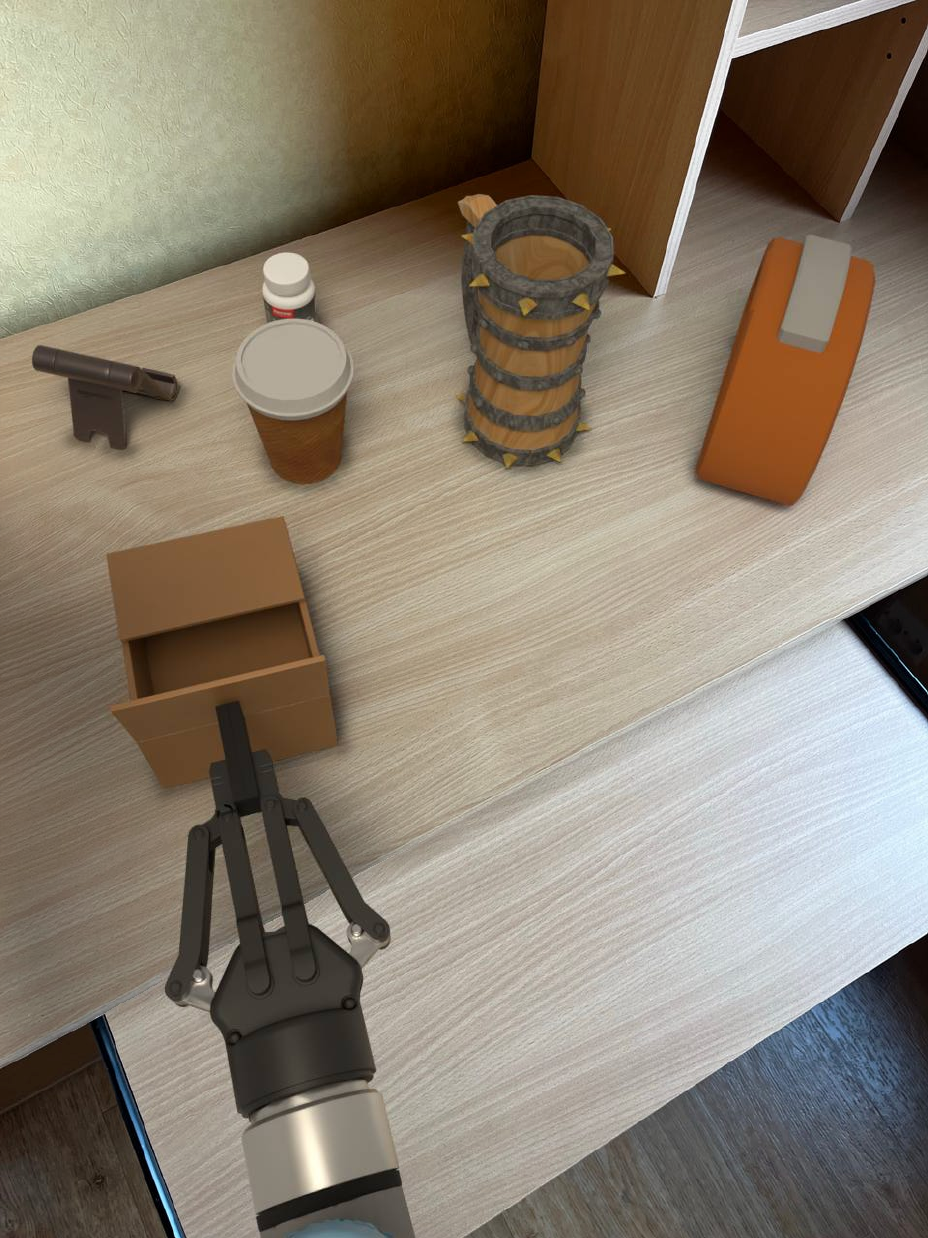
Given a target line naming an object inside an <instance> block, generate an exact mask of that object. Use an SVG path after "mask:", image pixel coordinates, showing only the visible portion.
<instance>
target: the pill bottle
mask: <svg viewBox="0 0 928 1238" xmlns="http://www.w3.org/2000/svg"><path fill="white" fill-rule="evenodd" d="M262 272H263V280H264V281H263V284H262V287H261V288H262V289H261V292H262V293H261V294H262V299H263V307H264V312H265V320H266V324H267V323H270V322H273V321H277V320H282V319H305V320H310V321H314V322H317V323H319V314H318V304H317V293H316V287H315V283H314V280H313V279H312V277H311V271H310V266H309V263H308V261H307V260H306V259H305V258H304V257H303V256H302V255H300V254H299V253H298V254H297V253H294V252H290V251H289V252H286V251H285V252H279V253H276V254H273V255H272V256H270V257H269V258H268V259H267V260H266V261H265V262H264V264H263V267H262Z"/></svg>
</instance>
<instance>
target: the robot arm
mask: <svg viewBox="0 0 928 1238" xmlns="http://www.w3.org/2000/svg"><path fill="white" fill-rule="evenodd" d="M215 708H216V713H217V718H218V724H219V729H220V734H221V739H222V744H223V749H224V754H225V760H221V761H218V762H214V763H211V765H210V769H209V774H210V778H209V779H210V785H211V788H212V789H211V790H212V794H213V800H214V806H215V810H214V813H213V816H212V817H211V818H210V819H209V820H207V821H205V822H204V823H202V824H195V825H194V826H192V827H191V828H190V829H189V831H188V835H187V847H186V856H185V857H186V858H185V870H184V883H183V897H182V907H181V908H182V909H181V918H180V919H181V920H180V930H179V931H180V933H179V945H178V955H177V957H176V959H175V962H174V964H173V966H172V969H171V971H170V973H169V976H168V977H167V980H166V982H165V984H164V994H165V996H166V997H167V998H168V999H169V1000H171V1002H173V1003H174V1005H176V1006H177V1007H179V1008H186V1007H189V1006H190V1007H193V1008H196V1009H199V1010H201V1011H204V1012H207V1013H209V1015H210V1016H209V1017H210V1019H211V1021H212V1023H213V1024H214V1025H215V1027H216V1028H217V1030H219V1032H220V1033H221V1035H222V1038H223V1040H224V1044H225V1048H226V1050H225V1051H226V1056H227V1061H228V1068H229V1073H230V1078H231V1084H232V1085H231V1086H232V1090H233V1097H234V1101H235V1108H236V1113H238V1114H239V1115H241V1117H242V1118H243V1119H247V1120H248V1122H249V1123H250V1125H248V1126H246V1127H247V1128H245V1129H244V1131H243V1133H242V1134H241V1144H242V1150H243V1154H244V1159H245V1160H244V1161H245V1165H246V1170H247V1176H248V1182H249V1186H250V1193H251V1197H252V1203H253V1209H254V1214H255V1220H256V1224H257V1229H258V1232H259V1237H260V1238H416V1235H415V1231H414V1227H413V1223H412V1219H411V1216H410V1211H409V1208H408V1203H407V1200H406V1196H405V1192H404V1188H403V1180H402V1176H401V1172H400V1170H399V1169H400V1164H399V1159H398V1156H397V1151H396V1147H395V1143H394V1138H393V1135H392V1134H393V1133H392V1129H391V1126H390V1121H389V1117H388V1113H387V1109H386V1104H385V1100H384V1096H383V1093H382V1092H381V1091H379V1090H377V1089H376V1088H370V1087H369V1083H370V1082H372V1081H373V1079H374V1078H375V1073H376V1072H377V1066H376V1062H375V1058H374V1055H373V1051H372V1046H371V1042H370V1037H369V1032H368V1028H367V1025H366V1020H365V1015H364V1012H363V1008H362V1003H361V992H362V988H363V986H364V985H363V984H364V974H363V969H364V967H365V966H366V965H367V964H368V963H369V962H370V960H371V959H372V958H373V957H374V956H375V955H376V953H377V952H378V951H382V950H385V949H387V948H388V947H389V946H390V944H391V940H392V936H391V928H390V924H389V923H388V921H387V920H386V919H385V918H384V917H383V916H381V915H380V914H379V913H378V912H377V911H376V910H374V909H373V908H372V907H371V906H370V905H369V904H368V903H367V902H365V900H364V898H363V896H362V894H361V892H360V890H359V889H358V886H357V885H356V882H355V881H354V879H353V878H352V875H351V873H350V871H349V870H348V868H347V866H346V864H345V862H344V860H343V858H342V856H341V855H340V853H339V851H338V849H337V847H336V846H335V843H334V842H333V840H332V837H331V836H330V833H329V832H328V831H327V829H326V826H325V825H324V822H323V821H322V819H321V817H320V815H319V813H318V812H317V810H316V809H317V808H315V806H314V804H313V802H312V801H311V800H310V798H308V797H306V796H305V797H303V796H301V797H298V798H296V799H293V798H286V797H284V796H283V795H282V794H281V793H280V789H279V783H278V779H277V775H276V771H275V767H274V766H275V765H274V761H273V762H272V759H271V755H270V754H269V753H268V751H267V750H266V749H264V750H260V751H256V752H252V750H251V745H250V740H249V736H248V731H247V726H246V722H245V718H244V715H243V712H242V709H241V706H240V703H239V701H236V702H232V703H227V704H223V705H219V706H215ZM259 813H261V816H262V820H263V826H264V831H265V835H266V840H267V846H268V850H269V854H270V860H271V864H272V869H273V874H274V878H275V882H276V889H277V893H278V898H279V902H280V909H281V916H282V920H283V926H281V927H280V928H278V929H276V930H275V931H265V927H264V923H263V918H262V912H261V908H260V903H259V899H258V893H257V888H256V883H255V878H254V874H253V869H252V868H253V867H252V864H251V859H250V854H249V853H250V852H249V849H248V844H247V839H246V834H245V829H244V826H243V822H242V818H244V817H248V816H252V815H255V814H259ZM288 827H297V828H298V829H299V831H300V833H301V835H302V837H303V839H304V841H305V843H306V844H307V847H308V849H309V850H310V852H311V854H312V856H313V858H314V860H315V862H316V864H317V866H318V868H319V869H320V872H321V874H322V875H323V878H324V879H325V881H326V883H327V885H328V887H329V889H330V891H331V893H332V895H333V897H334V898H335V900H336V902H337V904H338V906H339V908H340V910H341V912H342V914H343V916H344V917H345V919H346V921H347V923H348V926H347V928H346V937H347V940H348V942H349V944H350V946H351V947H350V951H349V952H347V950H345V949H344V948H343V947H342V946H341V945H339V944H338V943H336V942H335V940H334V939H332V938H331V937H329V936H328V935H327V934H326V933H325V932H323V930H321V929H320V928H319V927H318V926H316V925H313V924H312V923H310V922H309V919H308V914H307V910H306V905H305V901H304V897H303V892H302V887H301V883H300V878H299V874H298V873H299V872H298V869H297V865H296V860H295V856H294V850H293V846H292V841H291V837H290V833H289V829H288ZM220 846H222V852H223V857H224V862H225V868H226V873H227V879H228V883H229V888H230V893H231V894H230V895H231V899H232V904H233V909H234V910H233V911H234V915H235V922H236V924H235V925H236V931H237V935H238V941H239V944H238V945H237V946H236V948H235V949H234V950H233V952H232V954H231V957H230V960H229V961H228V964H227V966H226V968H225V971H224V972H223V975H222V976H221V979H220V981H219V984H218V986H217V988H216V990H214V988H213V983H214V976H213V974H212V972H211V971H210V970H209V968H207V966H208V961H209V953H210V942H211V941H210V938H211V927H212V926H211V924H212V910H213V909H212V908H213V895H214V879H215V867H216V850H217V848H218V847H220Z"/></svg>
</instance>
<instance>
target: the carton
mask: <svg viewBox="0 0 928 1238" xmlns="http://www.w3.org/2000/svg"><path fill="white" fill-rule="evenodd" d="M106 561H107V567H108V575H109V580H110V586H111V587H110V588H111V593H112V599H113V607H114V613H115V619H116V625H117V633H118V638H119V642H120V643H121V651H122V656H123V662H124V669H125V676H126V682H127V689H128V695H129V701H132V700H136V699H140V698H144V697H148V696H153V695H157V694H161V693H165V692H169V691H174V690H178V689H182V688H186V687H190V686H194V685H199V684H203V683H207V682H211V681H215V680H220V679H224V678H228V677H232V676H236V675H241V674H245V673H249V672H253V671H257V670H261V669H266V668H270V667H274V666H278V665H282V664H287V663H291V662H295V661H299V660H303V659H308V658H312V657H316V656H320V655H321V654H320V650H319V647H318V643H317V640H316V635H315V632H314V627H313V624H312V619H311V616H310V612H309V608H308V604H307V600H306V597H305V593H304V589H303V585H302V581H301V578H300V573H299V570H298V565H297V562H296V558H295V553H294V550H293V546H292V542H291V538H290V535H289V531H288V527H287V523H286V520H285V516H284V515H281V516H276V517H271V518H266V519H262V520H258V521H253V522H248V523H244V524H238V525H234V526H230V527H225V528H220V529H215V530H209V531H206V532H202V533H197V534H192V535H187V536H183V537H177V538H172V539H168V540H165V541H159V542H154V543H150V544H144V545H141V546H137V547H131V548H127V549H121V550H117V551H112V552H108V553H106ZM244 718H245V722H246V726H247V731H248V736H249V740H250V745H251V750H252V752H256V751H260V750H264V749H266V750H267V751H268V753H269V754H270V755H271V759H272V762H273V763H274V762H277V761H280V760H284V759H288V758H292V757H296V756H300V755H303V754H308V753H312V752H315V751H320V750H325V749H328V748H332V747H336V746H339V741H338V734H337V728H336V722H335V717H334V711H333V705H332V698H331V693H330V692H329V694H328V695H324V696H320V697H316V698H312V699H308V700H304V701H300V702H296V703H291V704H287V705H283V706H279V707H275V708H271V709H267V710H263V711H259V712H255V713H251V714H247V715H244ZM136 744H137V746H138V747H139V749H140V751H141V753H142V754H143V756H144V758H145V759H146V762H147V763H148V764H149V766H150V768H151V770H152V771H153V773H154V775H155V777H156V778H157V781H158V782H159V784H160V785H161V787H162V789H163V790H166V789H171V788H174V787H178V786H182V785H185V784H189V783H194V782H198V781H202V780H206V779H210V774H209V769H210V765H211V763H214V762H218V761H221V760H225V754H224V749H223V744H222V739H221V734H220V729H219V724H218V722H214V723H210V724H206V725H202V726H198V727H194V728H190V729H186V730H182V731H177V732H173V733H169V734H165V735H161V736H157V737H153V738H149V739H145V740H141V741H137V742H136Z"/></svg>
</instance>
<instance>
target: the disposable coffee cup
mask: <svg viewBox="0 0 928 1238" xmlns="http://www.w3.org/2000/svg"><path fill="white" fill-rule="evenodd" d="M354 369H355V367H354V361H353V357H352V355H351V352H350V351H349V349H348V348H347V347H346V345H345V344H344V343H343V341H342V339H341V338H340V337H339V335H338V334H336V333H335V331H333V330H332V329H331V328H329V327H327V326H325V325H324V324H322V323H320V322H318V323H317V322H314V321H310V320H305V319H282V320H277V321H273V322H270V323H267V322H266V323H265V324H263V325H261V326H259V327H257V328H255V329H254V330H252V332H251V333H249V334H248V335H247V336H246V337H244V339H243V340H242V341H241V343H240V345H239V346H238V349H237V352H236V356H235V358H234V361H233V362H232V369H231V377H232V382H233V386H234V388H235V390H236V393H238V395H239V396H240V398H241V399H242V400H243V401H244V403H246V405H247V406H246V407H247V408H248V410H249V414H250V416H251V419H252V420H253V421H252V422H253V423H254V425H255V428H256V431H257V433H258V436H259V438H260V440H261V443H262V446H263V447H264V450H265V453H266V455H267V458H268V460H269V463H270V465H271V469H272V470H273V471H274V472H275V474H277V476H279V477H280V478H282V479H284V480H285V481H287V482H290V483H294V484H301V485H308V484H314V483H318V482H321V481H323V480H325V479H327V478H329V477H330V476H332V475H333V474H334V472H336V470H337V469H338V468H339V466H340V464H341V461H342V455H343V441H344V431H345V423H346V422H345V421H346V411H347V402H348V401H347V400H348V399H347V398H348V391H349V389H350V387H351V384H352V382H353V379H354Z"/></svg>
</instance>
